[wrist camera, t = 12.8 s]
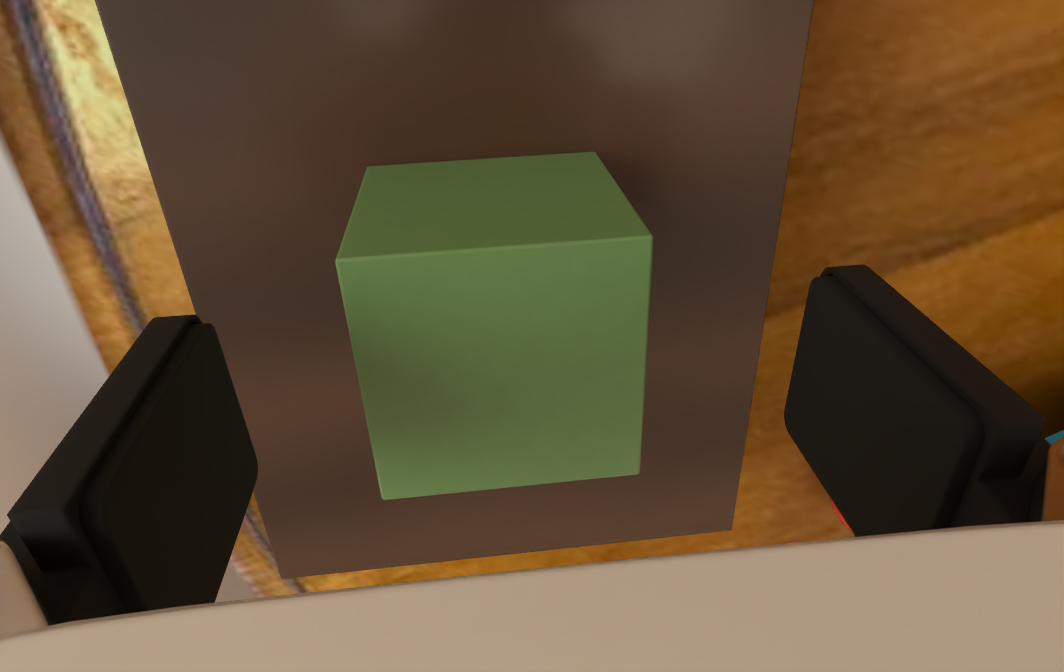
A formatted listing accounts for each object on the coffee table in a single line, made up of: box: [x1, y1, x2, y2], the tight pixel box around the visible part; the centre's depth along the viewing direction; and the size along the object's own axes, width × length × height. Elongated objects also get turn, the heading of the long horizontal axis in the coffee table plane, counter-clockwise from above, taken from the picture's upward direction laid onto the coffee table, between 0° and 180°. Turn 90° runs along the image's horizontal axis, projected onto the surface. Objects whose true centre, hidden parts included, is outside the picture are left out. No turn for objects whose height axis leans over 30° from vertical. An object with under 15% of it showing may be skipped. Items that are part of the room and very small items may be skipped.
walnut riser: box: [95, 0, 814, 579], centre depth 18 cm, size 20×14×5 cm
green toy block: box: [335, 152, 653, 500], centre depth 14 cm, size 5×5×5 cm
